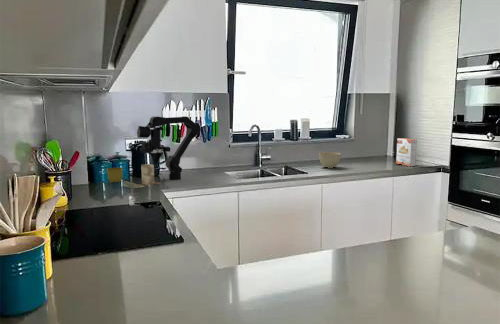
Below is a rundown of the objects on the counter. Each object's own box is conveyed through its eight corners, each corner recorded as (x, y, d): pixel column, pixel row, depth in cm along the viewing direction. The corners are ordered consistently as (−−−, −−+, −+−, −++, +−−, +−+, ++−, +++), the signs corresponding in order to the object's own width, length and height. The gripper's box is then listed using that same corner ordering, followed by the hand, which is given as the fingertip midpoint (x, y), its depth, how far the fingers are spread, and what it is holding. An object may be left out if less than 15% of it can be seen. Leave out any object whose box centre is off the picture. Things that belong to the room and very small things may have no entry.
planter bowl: (341, 169, 282) (341, 154, 280) (318, 169, 285) (318, 154, 283) (340, 166, 297) (340, 152, 296) (319, 165, 300) (319, 151, 299)
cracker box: (395, 164, 303) (396, 138, 300) (401, 164, 306) (402, 137, 303) (409, 167, 291) (411, 139, 288) (415, 166, 293) (417, 139, 290)
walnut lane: (152, 183, 232) (152, 177, 232) (162, 185, 226) (162, 178, 225) (123, 188, 218) (123, 181, 217) (133, 191, 211) (133, 183, 211)
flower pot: (107, 182, 236) (106, 168, 234) (122, 181, 239) (121, 167, 238) (107, 185, 228) (106, 170, 226) (123, 184, 231) (122, 169, 229)
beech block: (149, 182, 227) (148, 164, 226) (154, 183, 224) (153, 164, 222) (141, 183, 224) (141, 164, 222) (146, 184, 220) (146, 165, 219)
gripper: (158, 136, 241) (158, 161, 242) (133, 137, 225) (133, 164, 227) (171, 137, 234) (170, 163, 236) (146, 138, 219) (146, 165, 221)
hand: (155, 164), depth 230 cm, fingers closed
